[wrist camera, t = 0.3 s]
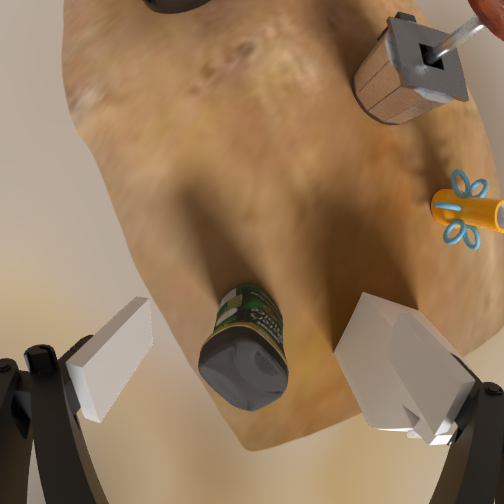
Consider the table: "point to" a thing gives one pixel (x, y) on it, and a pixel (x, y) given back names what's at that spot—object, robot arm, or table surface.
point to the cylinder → (467, 210)
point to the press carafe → (407, 73)
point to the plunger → (471, 28)
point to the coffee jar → (246, 350)
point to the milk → (384, 369)
